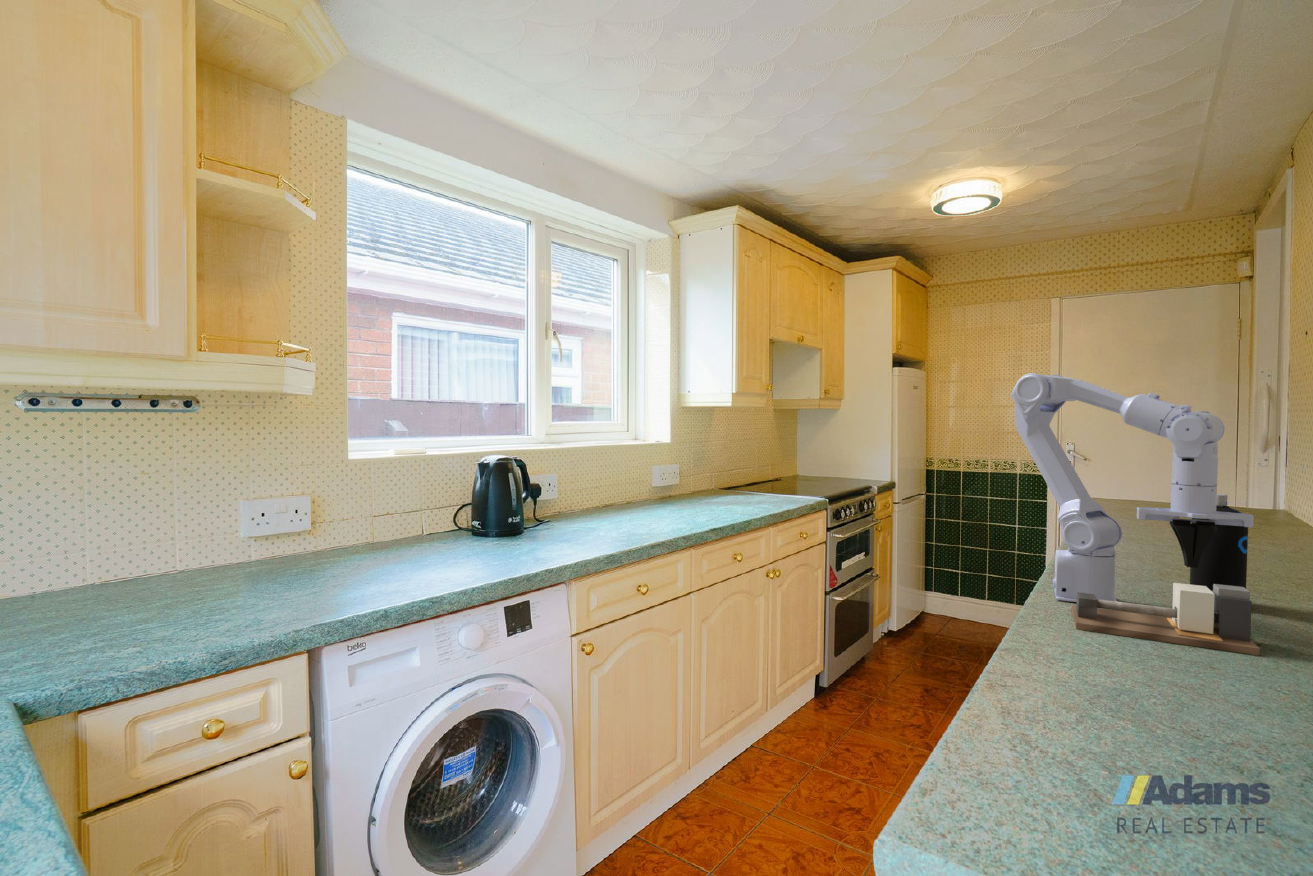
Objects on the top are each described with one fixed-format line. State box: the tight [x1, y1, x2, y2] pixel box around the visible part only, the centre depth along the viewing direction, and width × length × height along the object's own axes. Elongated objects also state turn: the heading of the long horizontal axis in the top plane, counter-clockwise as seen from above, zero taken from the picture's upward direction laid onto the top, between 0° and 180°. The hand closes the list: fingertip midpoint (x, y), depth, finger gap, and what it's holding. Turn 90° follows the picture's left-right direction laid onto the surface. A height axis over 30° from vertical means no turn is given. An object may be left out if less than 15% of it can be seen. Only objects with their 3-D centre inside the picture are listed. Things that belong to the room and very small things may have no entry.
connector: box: [1211, 584, 1253, 642], centre depth 94 cm, size 4×5×7 cm
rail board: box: [1070, 592, 1261, 656], centre depth 99 cm, size 22×11×4 cm, turn 60°
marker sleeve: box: [1171, 582, 1214, 634], centre depth 96 cm, size 4×5×6 cm
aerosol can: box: [1189, 493, 1249, 590], centre depth 114 cm, size 8×8×20 cm
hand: (1191, 566), depth 103 cm, fingers closed
